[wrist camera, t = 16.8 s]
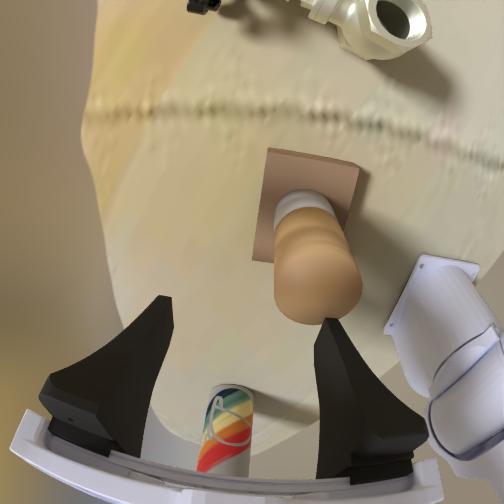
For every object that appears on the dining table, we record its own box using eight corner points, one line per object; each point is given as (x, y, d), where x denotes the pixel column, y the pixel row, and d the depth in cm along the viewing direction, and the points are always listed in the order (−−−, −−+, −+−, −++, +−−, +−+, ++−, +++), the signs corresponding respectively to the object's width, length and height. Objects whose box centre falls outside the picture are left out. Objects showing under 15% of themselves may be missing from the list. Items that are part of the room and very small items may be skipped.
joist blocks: (327, 259, 23) (331, 270, 22) (253, 249, 23) (252, 260, 22) (382, -102, 5) (387, -110, 4) (306, -121, 5) (307, -130, 4)
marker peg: (325, 245, 21) (346, 327, 14) (269, 238, 20) (267, 320, 14) (338, 194, 18) (374, 261, 12) (278, 184, 18) (282, 249, 12)
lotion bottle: (235, 378, 32) (216, 541, 15) (263, 398, 35) (254, 543, 18) (201, 389, 34) (174, 533, 17) (229, 407, 37) (213, 539, 20)
